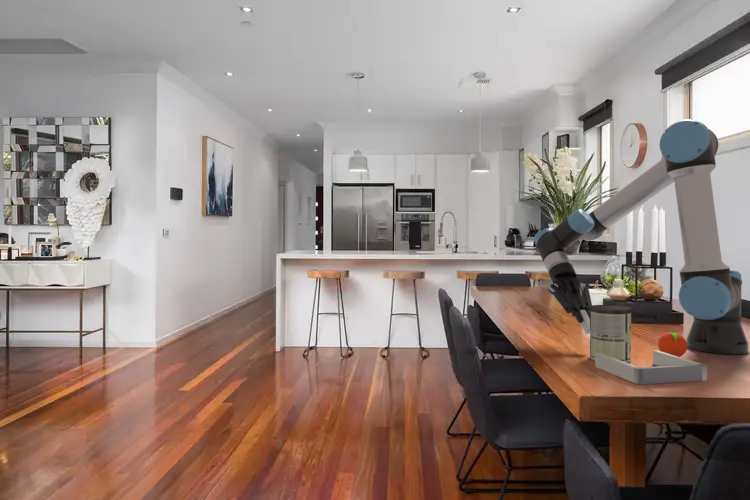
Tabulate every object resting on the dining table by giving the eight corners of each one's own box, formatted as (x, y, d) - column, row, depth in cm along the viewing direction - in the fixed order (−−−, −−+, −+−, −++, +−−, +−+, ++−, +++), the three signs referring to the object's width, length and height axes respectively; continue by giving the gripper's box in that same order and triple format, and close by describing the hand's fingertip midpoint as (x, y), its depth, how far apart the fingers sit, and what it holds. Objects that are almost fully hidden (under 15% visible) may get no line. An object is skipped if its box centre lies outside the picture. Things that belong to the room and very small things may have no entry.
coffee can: (584, 354, 146) (584, 304, 145) (622, 355, 145) (623, 304, 144) (596, 363, 136) (596, 309, 135) (637, 364, 135) (638, 309, 134)
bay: (595, 366, 132) (595, 353, 132) (657, 363, 135) (657, 350, 135) (637, 384, 116) (638, 368, 116) (706, 380, 119) (707, 365, 119)
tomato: (691, 362, 136) (691, 335, 136) (661, 360, 138) (662, 333, 138) (683, 355, 144) (683, 330, 144) (655, 354, 146) (655, 328, 146)
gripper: (574, 276, 169) (605, 337, 153) (536, 277, 167) (563, 339, 151) (583, 261, 164) (616, 322, 147) (544, 261, 161) (573, 323, 145)
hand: (589, 330), depth 149 cm, fingers closed
